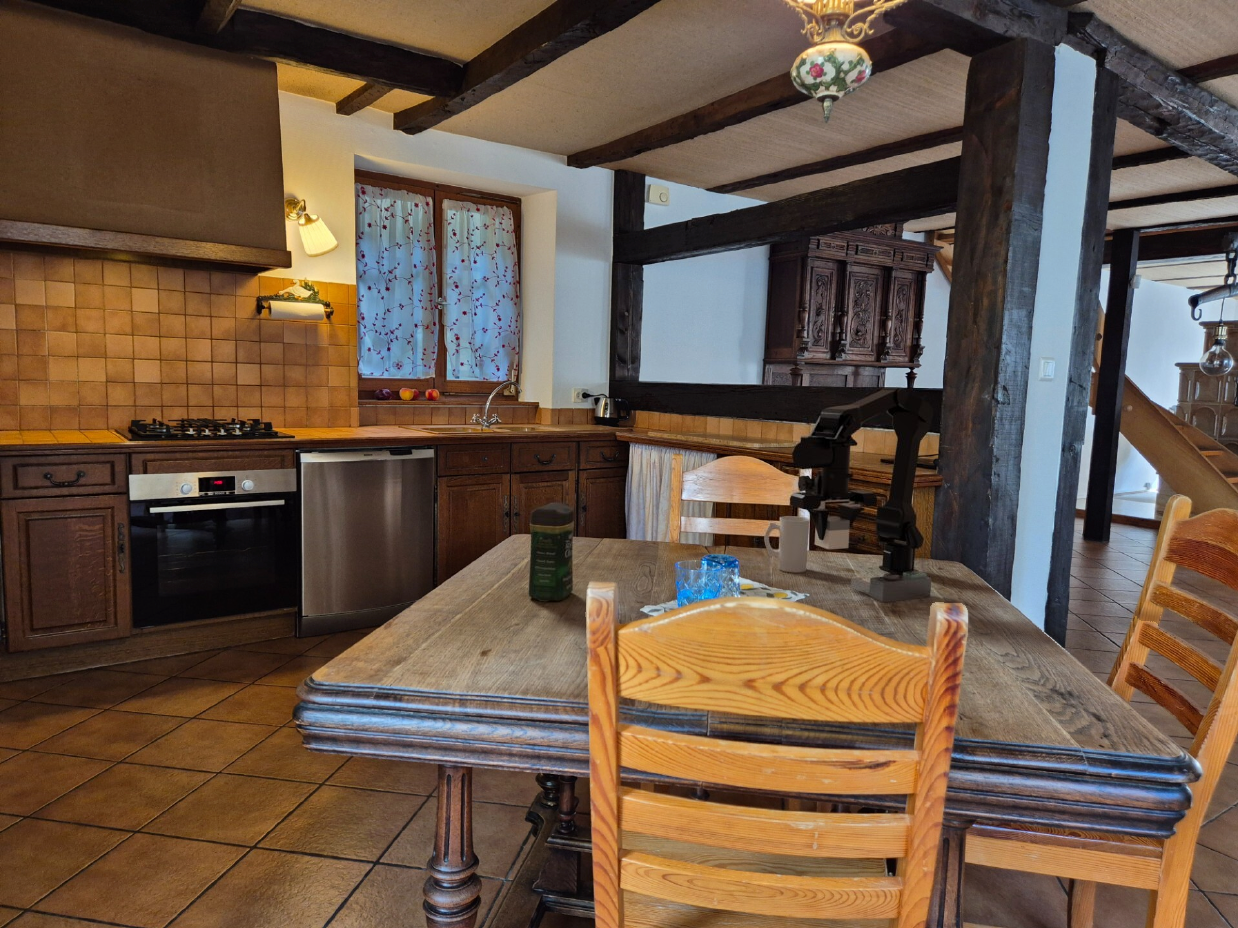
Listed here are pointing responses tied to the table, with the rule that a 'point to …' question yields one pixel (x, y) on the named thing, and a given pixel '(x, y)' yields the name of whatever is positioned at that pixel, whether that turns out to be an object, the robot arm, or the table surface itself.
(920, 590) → the knobbed block assembly
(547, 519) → the coffee jar
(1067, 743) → the table surface
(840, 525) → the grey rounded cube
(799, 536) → the mug
